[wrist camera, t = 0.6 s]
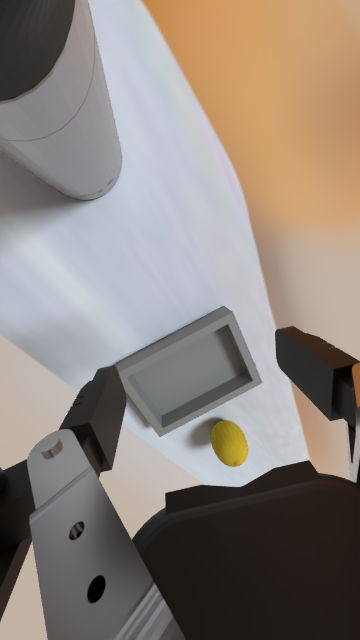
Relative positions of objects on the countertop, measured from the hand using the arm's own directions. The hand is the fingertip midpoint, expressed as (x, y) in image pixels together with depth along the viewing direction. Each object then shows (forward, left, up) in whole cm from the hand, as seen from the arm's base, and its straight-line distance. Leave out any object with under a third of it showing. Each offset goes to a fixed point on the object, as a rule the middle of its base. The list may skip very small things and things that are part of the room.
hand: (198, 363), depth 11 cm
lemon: (+26, -2, -20) cm, 33 cm away
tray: (+13, -2, -20) cm, 24 cm away
